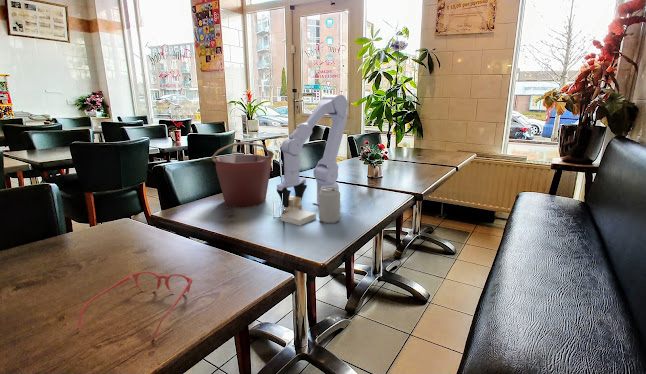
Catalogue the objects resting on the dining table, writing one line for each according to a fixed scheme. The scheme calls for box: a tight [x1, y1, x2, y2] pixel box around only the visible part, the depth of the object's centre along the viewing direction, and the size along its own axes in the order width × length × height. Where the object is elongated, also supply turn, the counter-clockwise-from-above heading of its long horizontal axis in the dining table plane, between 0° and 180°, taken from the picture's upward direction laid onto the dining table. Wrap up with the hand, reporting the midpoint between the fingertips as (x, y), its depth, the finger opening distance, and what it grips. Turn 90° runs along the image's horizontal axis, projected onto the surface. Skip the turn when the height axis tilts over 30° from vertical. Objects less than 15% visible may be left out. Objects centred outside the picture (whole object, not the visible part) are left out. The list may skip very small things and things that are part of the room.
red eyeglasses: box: [77, 271, 193, 338], centre depth 70 cm, size 17×16×5 cm
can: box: [318, 187, 341, 224], centre depth 123 cm, size 8×8×12 cm
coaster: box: [280, 209, 317, 226], centre depth 125 cm, size 9×9×2 cm
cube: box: [283, 195, 303, 212], centre depth 135 cm, size 5×5×5 cm
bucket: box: [211, 142, 275, 209], centre depth 143 cm, size 24×22×25 cm
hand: (292, 204), depth 135 cm, fingers open, 7 cm apart
